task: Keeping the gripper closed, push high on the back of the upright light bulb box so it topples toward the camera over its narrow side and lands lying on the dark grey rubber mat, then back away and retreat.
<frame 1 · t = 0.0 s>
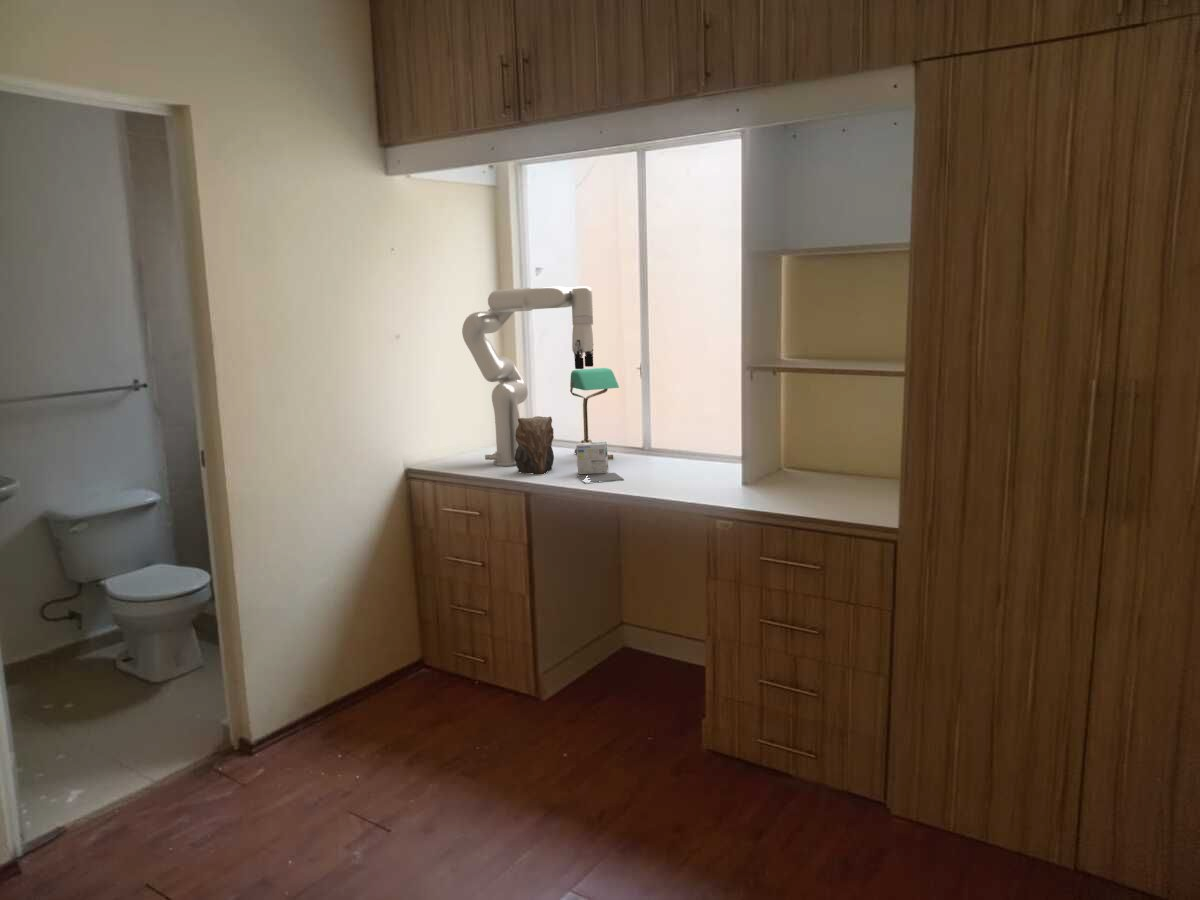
hand: (584, 367, 320), 37 cm above the table, tool pointing down, fingers open, 9 cm apart
mat: (600, 478, 305), on the table
banker's lamp: (594, 457, 346), on the table
light bulb box: (593, 473, 314), on the table, touching mat
owl: (536, 472, 321), on the table
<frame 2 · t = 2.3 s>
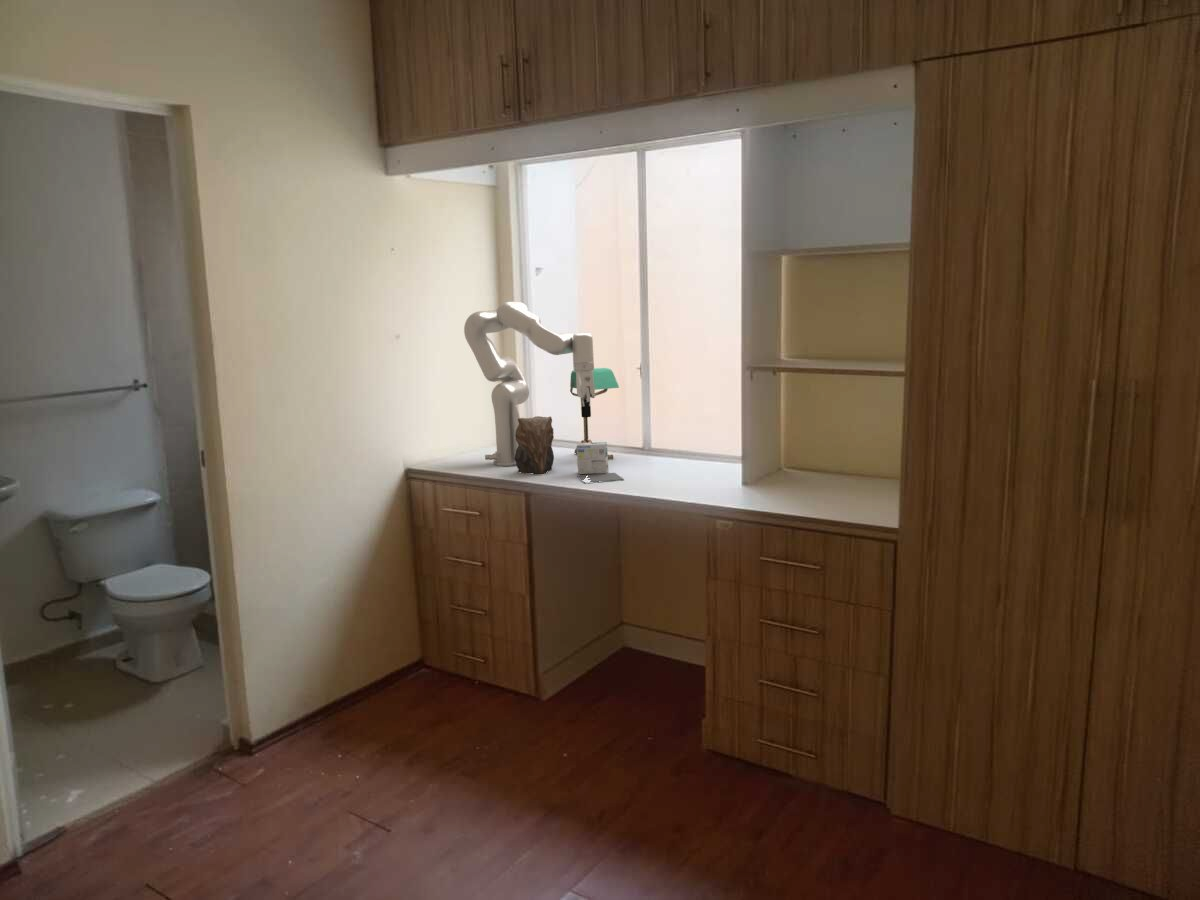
hand: (586, 416, 320), 19 cm above the table, tool pointing down, fingers closed
nothing on the table moved.
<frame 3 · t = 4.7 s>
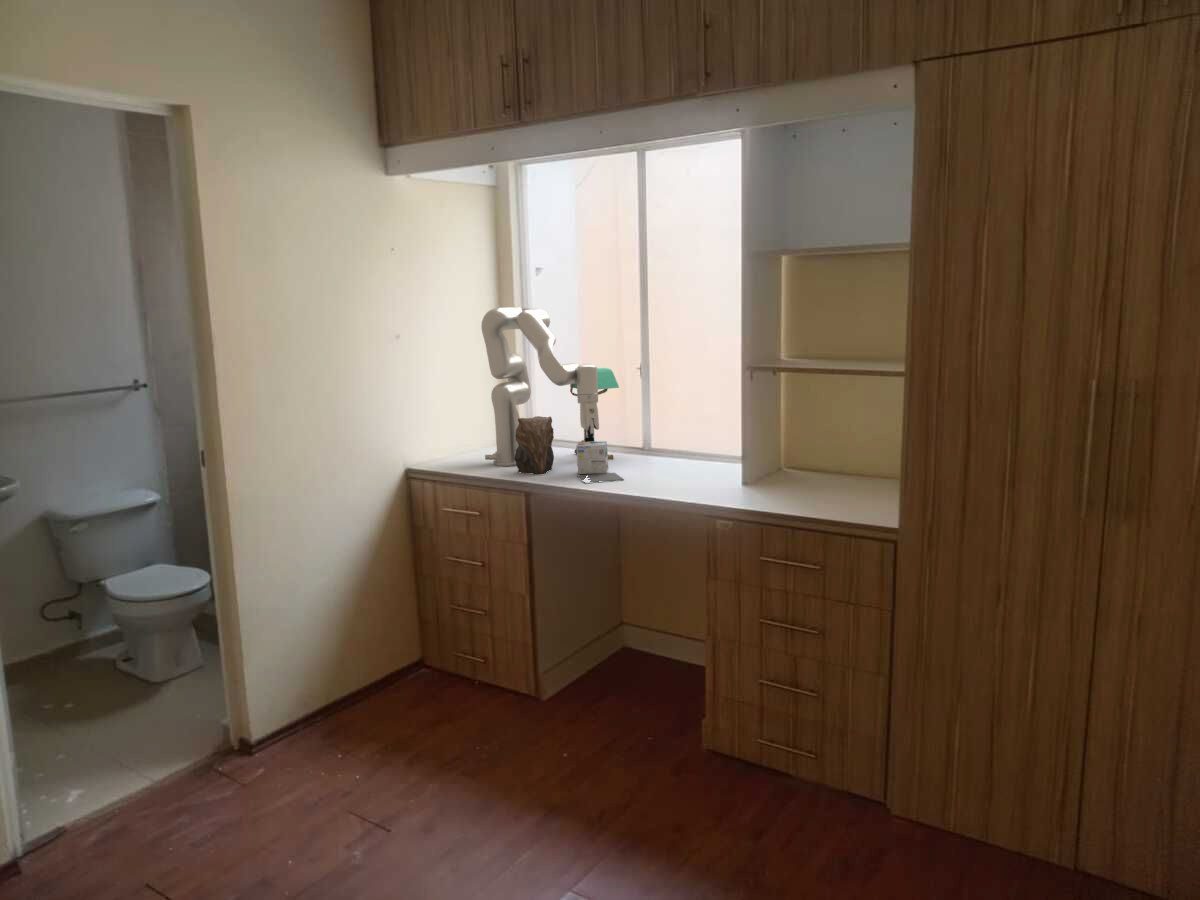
hand: (589, 448, 318), 8 cm above the table, tool pointing down, fingers closed
light bulb box: (593, 472, 314), on the table, touching gripper, mat
everything else where it was.
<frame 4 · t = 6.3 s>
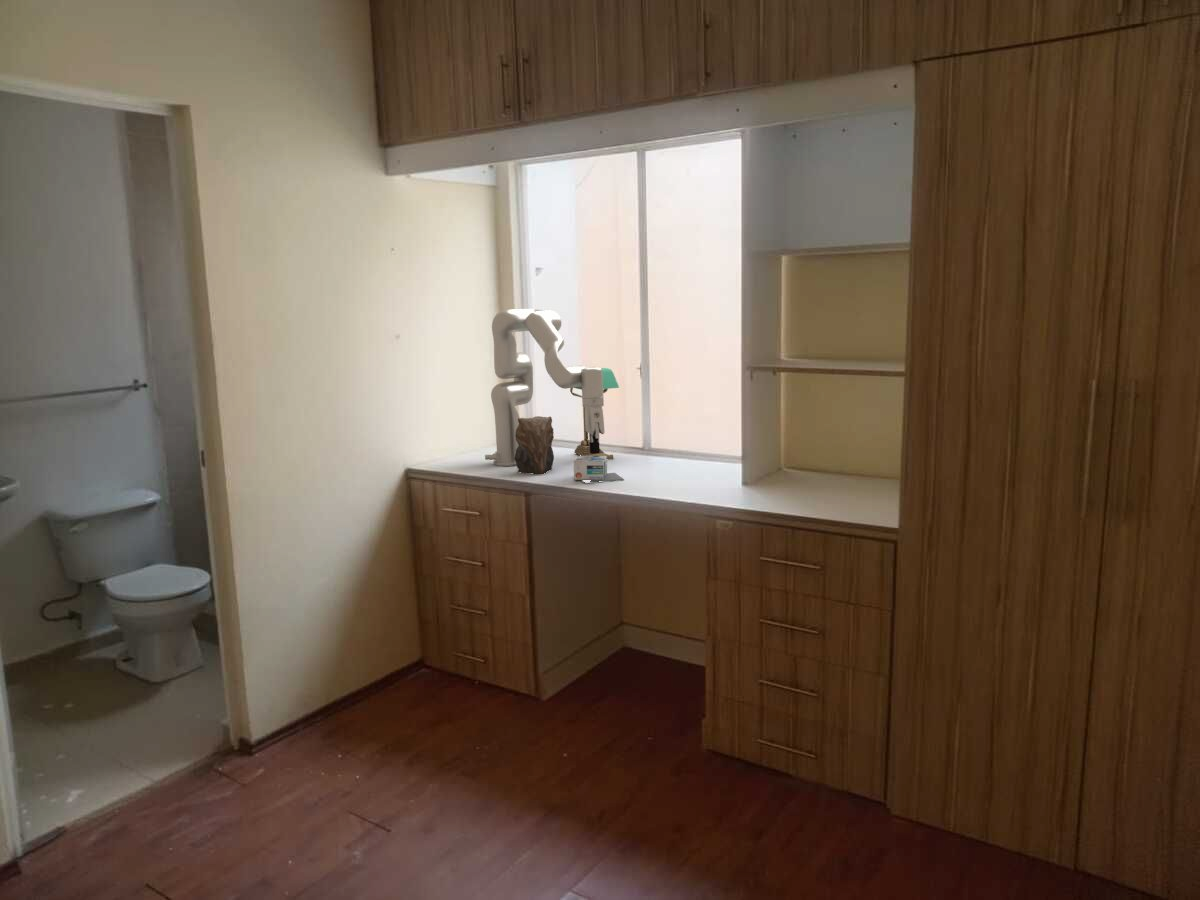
hand: (594, 452, 310), 8 cm above the table, tool pointing down, fingers closed
light bulb box: (592, 464, 311), point 4 cm above the table, touching mat
everything else where it was.
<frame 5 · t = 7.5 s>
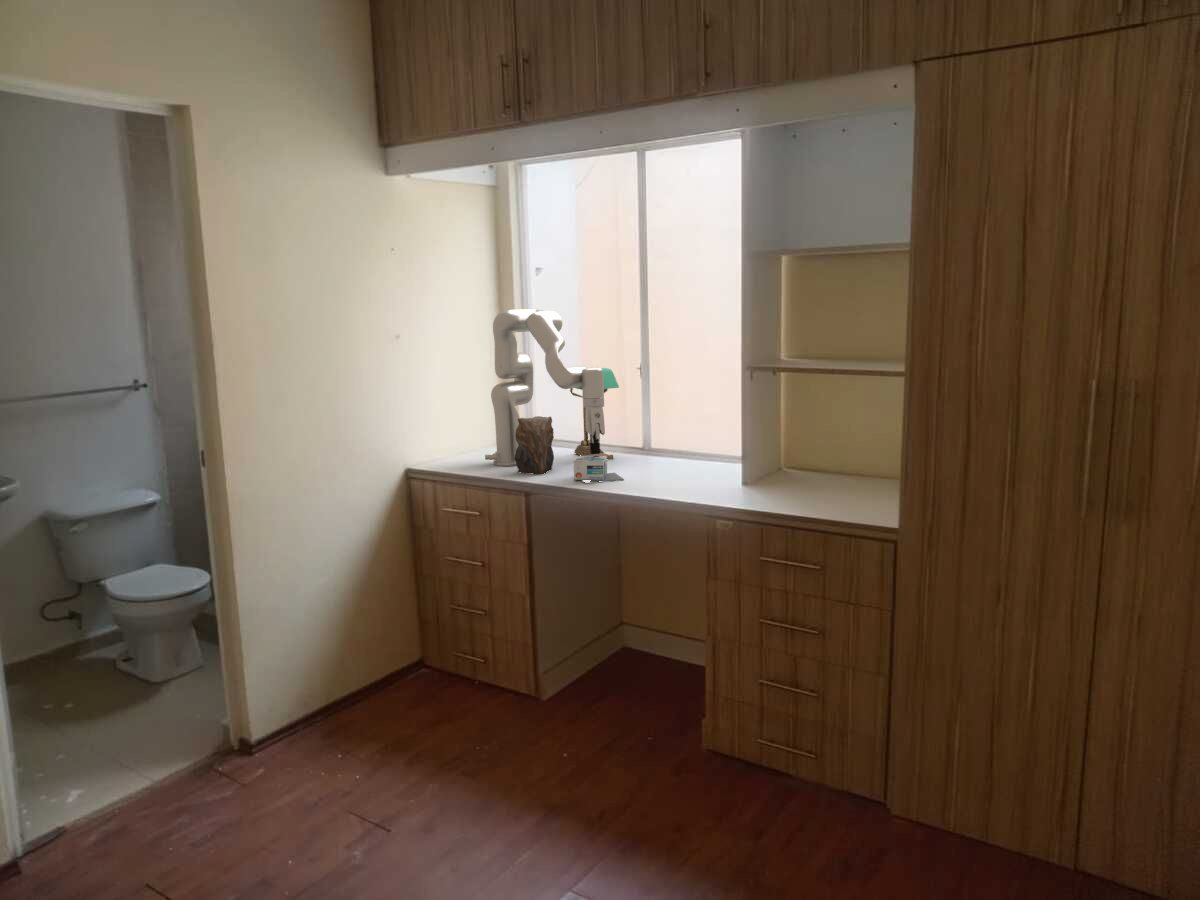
hand: (595, 453, 309), 8 cm above the table, tool pointing down, fingers closed
nothing on the table moved.
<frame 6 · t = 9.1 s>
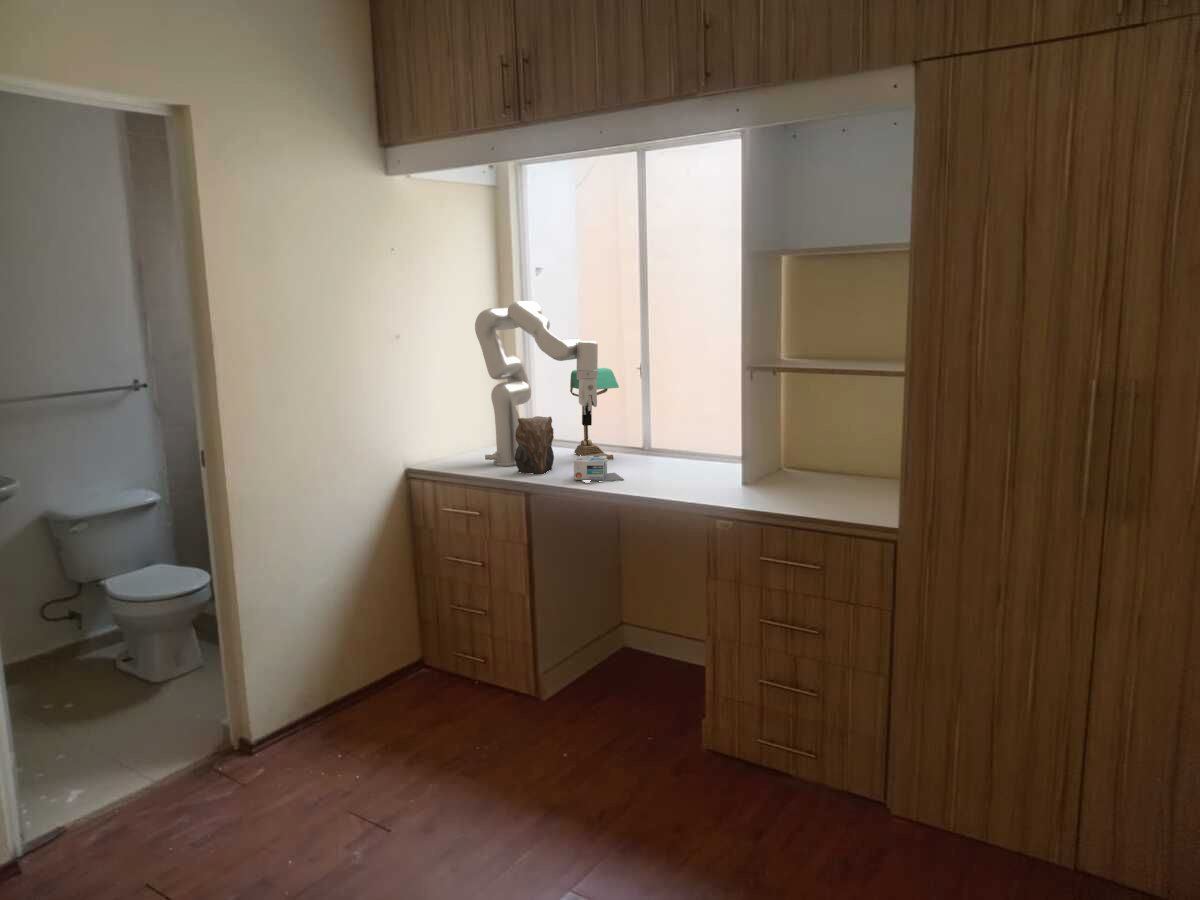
hand: (586, 425, 316), 17 cm above the table, tool pointing down, fingers closed
nothing on the table moved.
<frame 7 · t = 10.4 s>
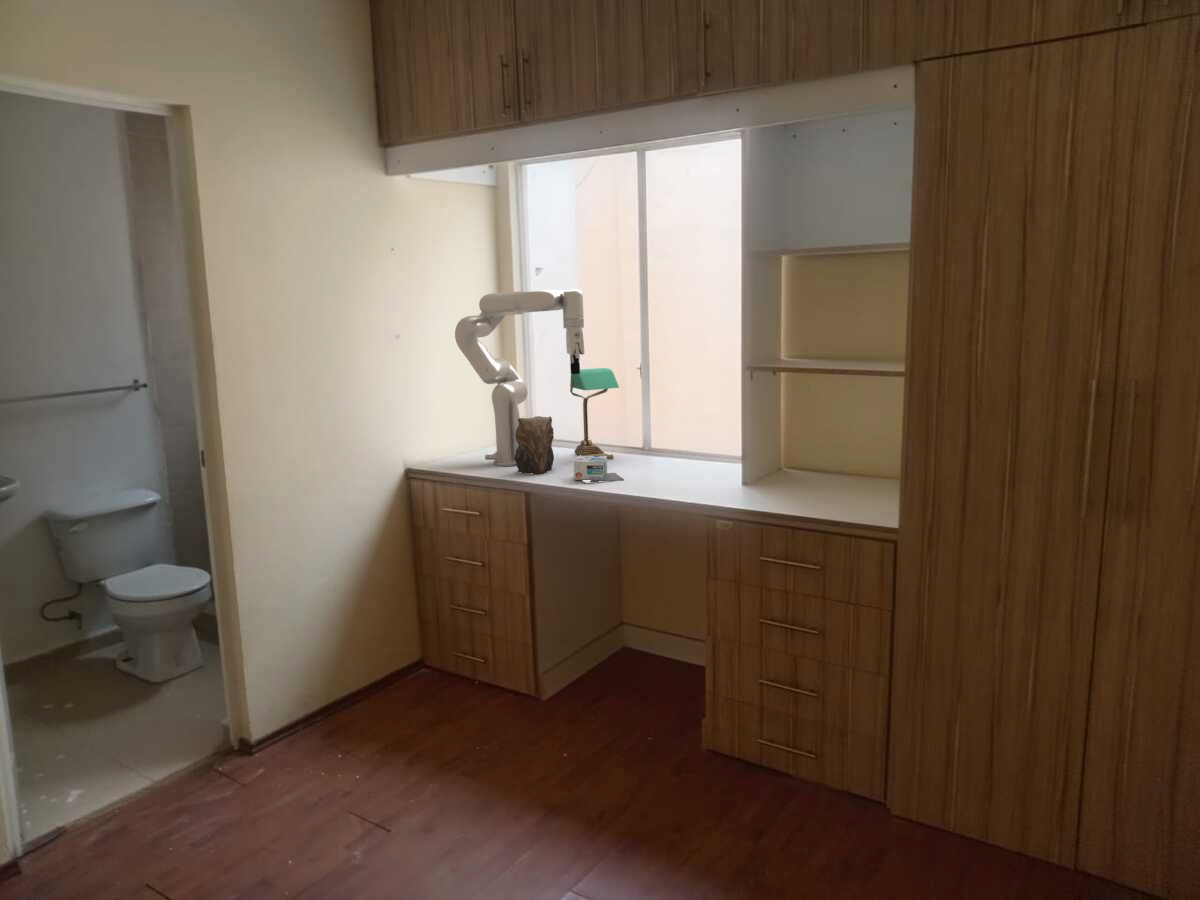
hand: (575, 373, 322), 35 cm above the table, tool pointing down, fingers closed
nothing on the table moved.
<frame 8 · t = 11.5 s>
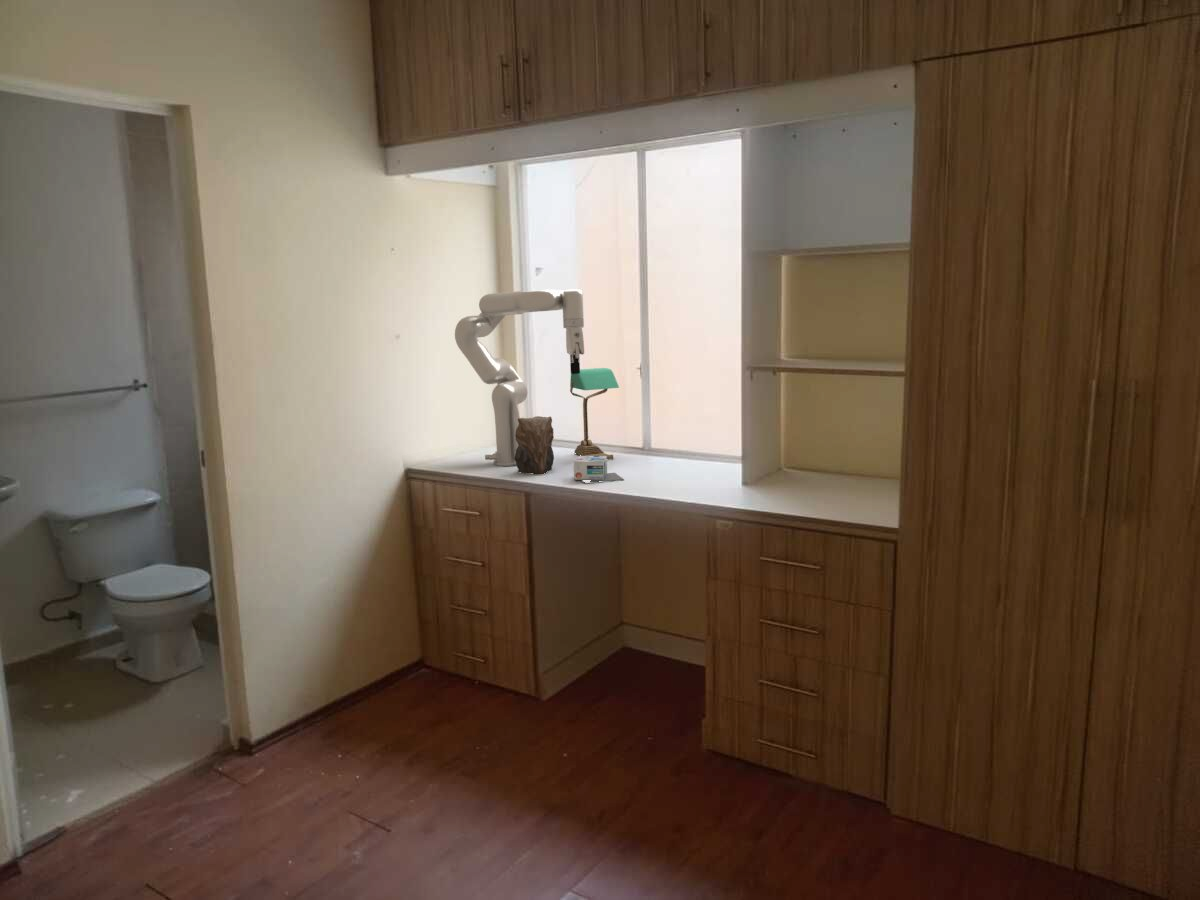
hand: (575, 373, 322), 35 cm above the table, tool pointing down, fingers closed
nothing on the table moved.
at the end: light bulb box tilted 89°; light bulb box inside the target area (3.9 cm from its centre), point 3.6 cm above the table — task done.
